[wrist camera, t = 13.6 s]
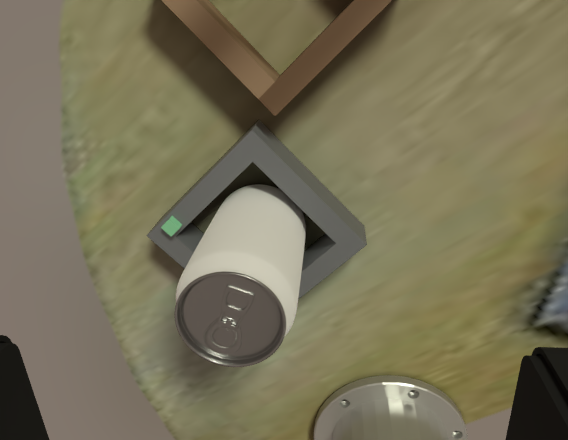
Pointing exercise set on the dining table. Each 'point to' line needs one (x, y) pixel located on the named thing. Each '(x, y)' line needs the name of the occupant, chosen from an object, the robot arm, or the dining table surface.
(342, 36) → the brown square frame
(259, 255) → the can
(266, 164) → the gray square frame
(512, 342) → the dining table surface
